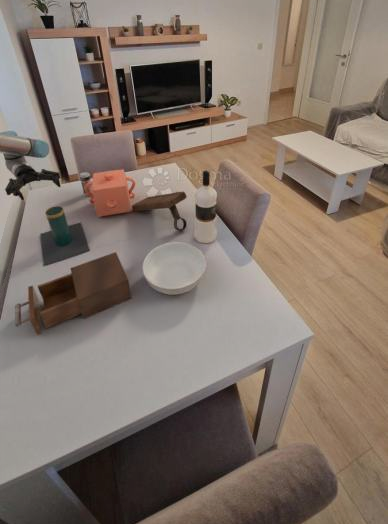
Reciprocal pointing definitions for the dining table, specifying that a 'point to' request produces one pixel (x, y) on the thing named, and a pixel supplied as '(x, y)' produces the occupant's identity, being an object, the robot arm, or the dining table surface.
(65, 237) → the tin
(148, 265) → the serving bowl
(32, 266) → the dining table surface
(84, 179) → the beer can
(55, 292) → the drawer
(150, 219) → the dining table surface
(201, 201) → the vodka
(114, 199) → the orange box
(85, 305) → the cabinet
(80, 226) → the mat
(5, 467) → the dining table surface
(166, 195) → the bottle opener
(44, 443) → the dining table surface
